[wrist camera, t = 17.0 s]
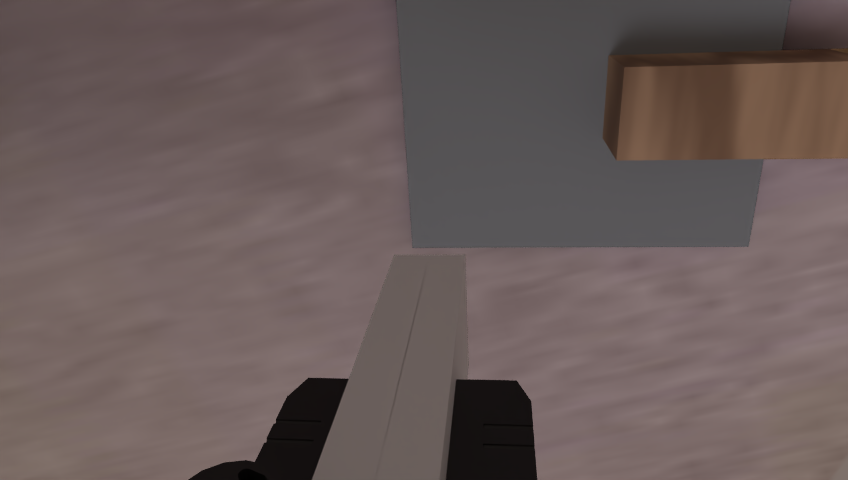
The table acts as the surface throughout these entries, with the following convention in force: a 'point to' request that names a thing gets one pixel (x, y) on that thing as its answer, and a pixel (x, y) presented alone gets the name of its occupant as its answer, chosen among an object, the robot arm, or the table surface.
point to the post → (728, 105)
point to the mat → (561, 123)
